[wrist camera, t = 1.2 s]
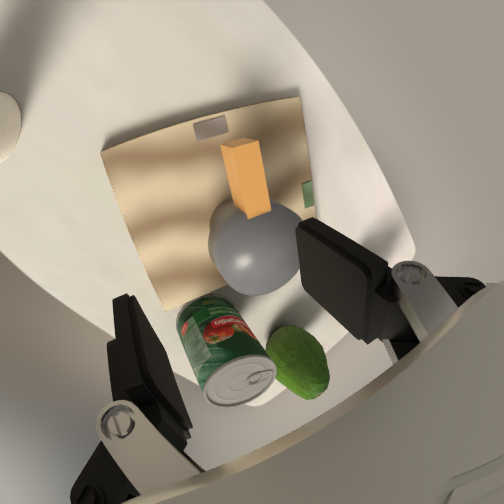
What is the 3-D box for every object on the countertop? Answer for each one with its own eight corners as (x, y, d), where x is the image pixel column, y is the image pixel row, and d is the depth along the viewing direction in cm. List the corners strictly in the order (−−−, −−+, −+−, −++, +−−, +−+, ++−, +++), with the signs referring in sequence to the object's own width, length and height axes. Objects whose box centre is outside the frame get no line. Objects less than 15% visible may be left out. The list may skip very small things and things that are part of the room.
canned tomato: (179, 349, 36) (207, 416, 27) (171, 301, 33) (199, 370, 24) (236, 335, 39) (273, 394, 30) (235, 287, 36) (280, 346, 27)
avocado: (248, 357, 42) (287, 417, 33) (264, 315, 40) (313, 375, 30) (290, 352, 46) (332, 403, 37) (308, 314, 44) (358, 364, 34)
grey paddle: (293, 258, 30) (311, 272, 27) (220, 290, 28) (233, 309, 25) (273, 128, 23) (294, 131, 20) (180, 155, 21) (190, 161, 18)
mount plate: (101, 151, 23) (96, 158, 18) (292, 97, 28) (323, 96, 24) (162, 303, 32) (173, 334, 28) (311, 239, 38) (338, 258, 33)
